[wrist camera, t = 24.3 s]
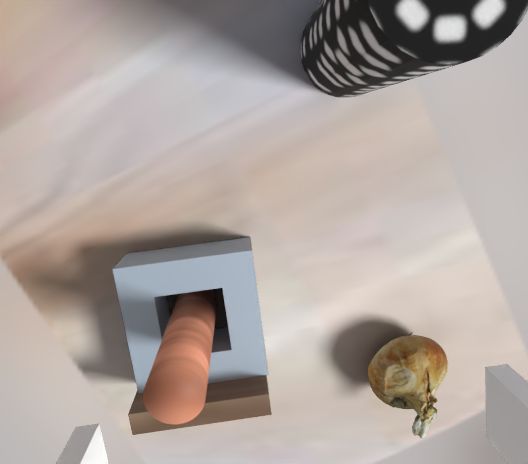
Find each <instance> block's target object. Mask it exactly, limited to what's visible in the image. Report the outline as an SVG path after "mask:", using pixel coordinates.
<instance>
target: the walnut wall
mask: <svg viewBox="0 0 528 464" xmlns="http://www.w3.org/2000/svg"><path fill="white" fill-rule="evenodd" d="M265 415H271V408H270V400H269V392H268V384H267V376H266V375H264V376H257V377H251V378H244V379H237V380H230V381H223V382H216V383H209V384H207V391H206V399H205V404H204V407H203V409H202V411H201V412H200V413H199V414H198V415H197V416H196V417H195V418H194V419H192V420H190V421H188V422H186V423H182V424H166V423H163V422H160V421H158V420H157V419H155V418H154V417H152V416H151V415H150V414H149V412H148V411H147V409H146V408H145V405H144V402H143V393H139V394H138V390H137V393H136V396H135V398H134V401H133V403H132V406H131V409H130V411H129V414H128V416H129V420H130V425H131V430H132V434H133V435H136V434H143V433H149V432H156V431H163V430H170V429H177V428H183V427H190V426H197V425H204V424H211V423H217V422H224V421H231V420H238V419H245V418H251V417H258V416H265Z"/></svg>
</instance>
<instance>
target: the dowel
mask: <svg viewBox="0 0 528 464" xmlns="http://www.w3.org/2000/svg"><path fill="white" fill-rule="evenodd" d="M216 310H217V298H216V296H215V294H214V293H213V291H212V290H211V289H210V290H202V291H195V292H188V293H181V294H179V296H178V298H177V301H176V304H175V306H174V309H173V312H172V314H171V317H170V320H169V323H168V325H167V328H166V331H165V333H164V336H163V339H162V342H161V344H160V347H159V350H158V352H157V355H156V358H155V360H154V363H153V366H152V369H151V371H150V374H149V377H148V379H147V382H146V385H145V388H144V391H143V402H144V405H145V408H146V409H147V411H148V412H149V414H150V415H151V416H152V417H154V418H155V419H157V420H158V421H160V422H163V423H166V424H182V423H186V422H188V421H190V420H192V419H194V418H195V417H196V416H197V415H198V414H199V413H200V412H201V411H202V409H203V407H204V404H205V399H206V391H207V383H208V375H209V367H210V359H211V351H212V343H213V335H214V327H215V319H216Z"/></svg>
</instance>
